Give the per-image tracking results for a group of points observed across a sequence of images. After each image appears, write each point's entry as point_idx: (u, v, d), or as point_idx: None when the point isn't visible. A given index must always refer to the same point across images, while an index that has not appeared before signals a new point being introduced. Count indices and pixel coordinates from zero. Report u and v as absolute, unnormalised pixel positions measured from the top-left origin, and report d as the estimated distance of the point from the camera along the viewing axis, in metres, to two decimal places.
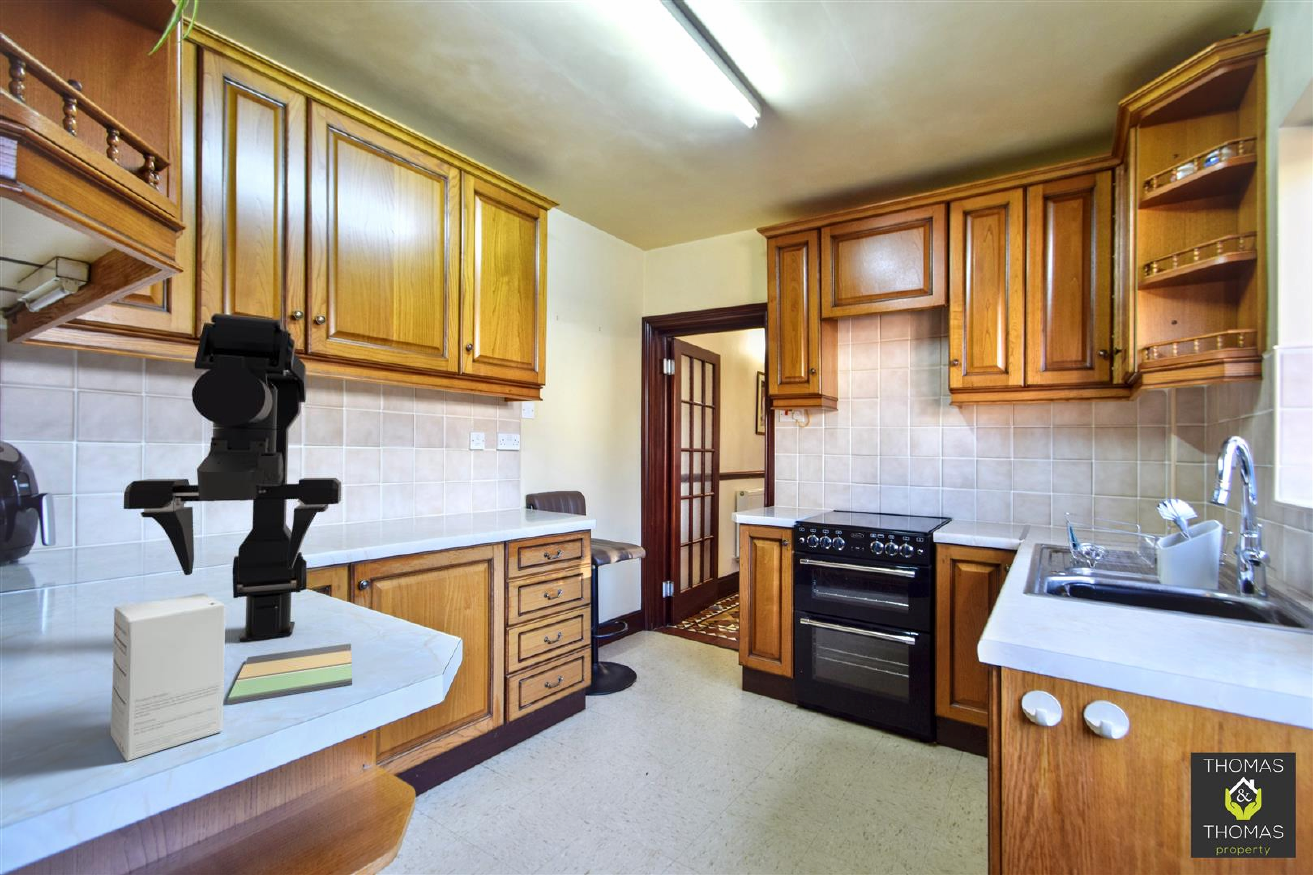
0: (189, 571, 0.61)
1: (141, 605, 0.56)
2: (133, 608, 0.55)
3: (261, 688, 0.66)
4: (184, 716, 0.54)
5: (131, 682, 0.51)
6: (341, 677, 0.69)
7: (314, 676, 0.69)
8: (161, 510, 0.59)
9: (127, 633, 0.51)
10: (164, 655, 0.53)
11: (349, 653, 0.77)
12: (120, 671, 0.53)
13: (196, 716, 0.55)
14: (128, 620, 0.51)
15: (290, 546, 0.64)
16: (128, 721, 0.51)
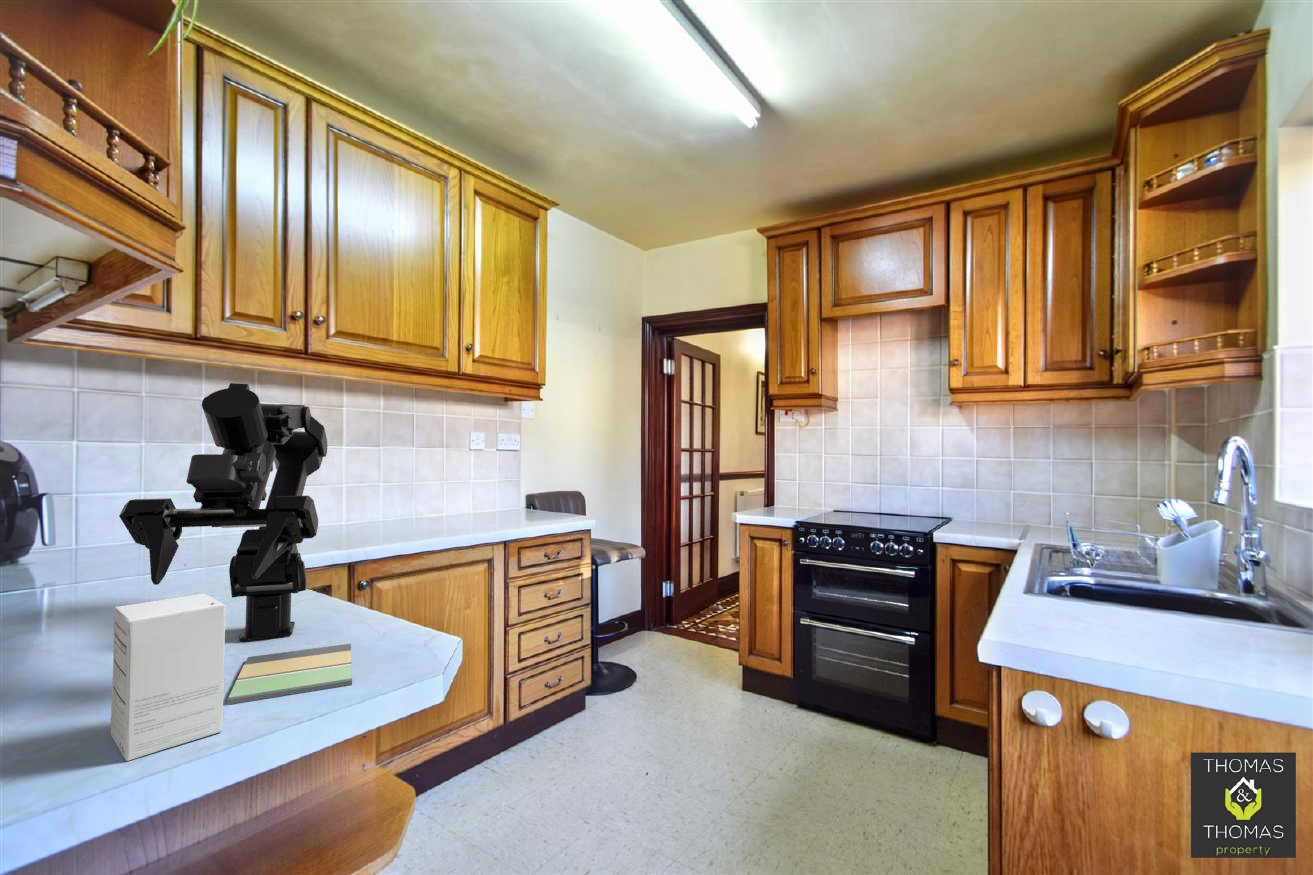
0: (156, 577, 0.62)
1: (141, 605, 0.56)
2: (133, 608, 0.55)
3: (261, 688, 0.66)
4: (184, 716, 0.54)
5: (131, 682, 0.51)
6: (341, 677, 0.69)
7: (314, 676, 0.69)
8: None
9: (127, 633, 0.51)
10: (164, 655, 0.53)
11: (349, 653, 0.77)
12: (120, 671, 0.53)
13: (196, 716, 0.55)
14: (128, 620, 0.51)
15: (258, 552, 0.67)
16: (128, 721, 0.51)
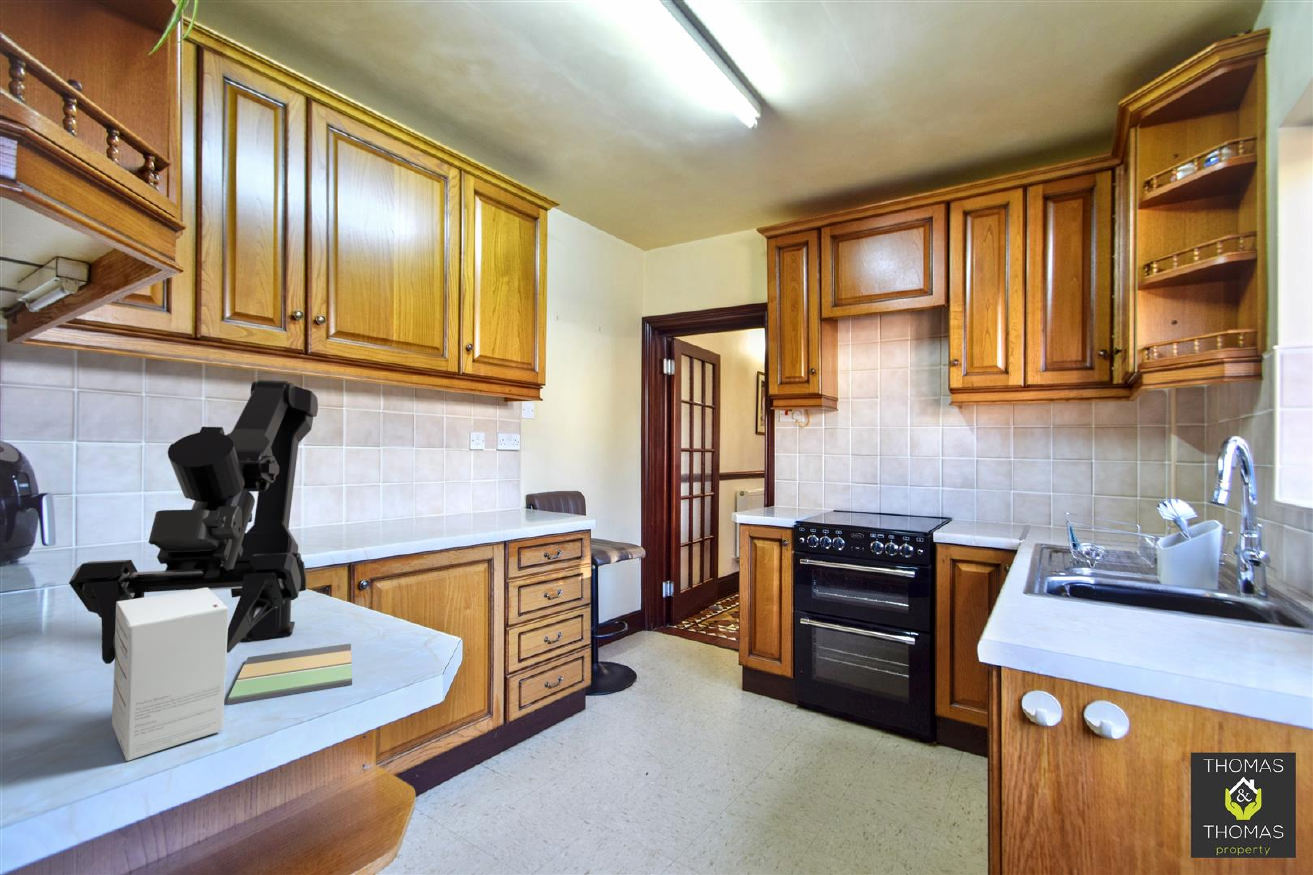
0: (108, 655, 0.54)
1: (143, 602, 0.55)
2: (135, 606, 0.54)
3: (261, 688, 0.66)
4: (185, 717, 0.54)
5: (131, 685, 0.51)
6: (341, 677, 0.69)
7: (314, 676, 0.69)
8: None
9: (128, 638, 0.50)
10: (166, 659, 0.52)
11: (349, 653, 0.77)
12: (121, 671, 0.52)
13: (197, 716, 0.54)
14: (129, 625, 0.50)
15: (231, 621, 0.58)
16: (128, 723, 0.51)
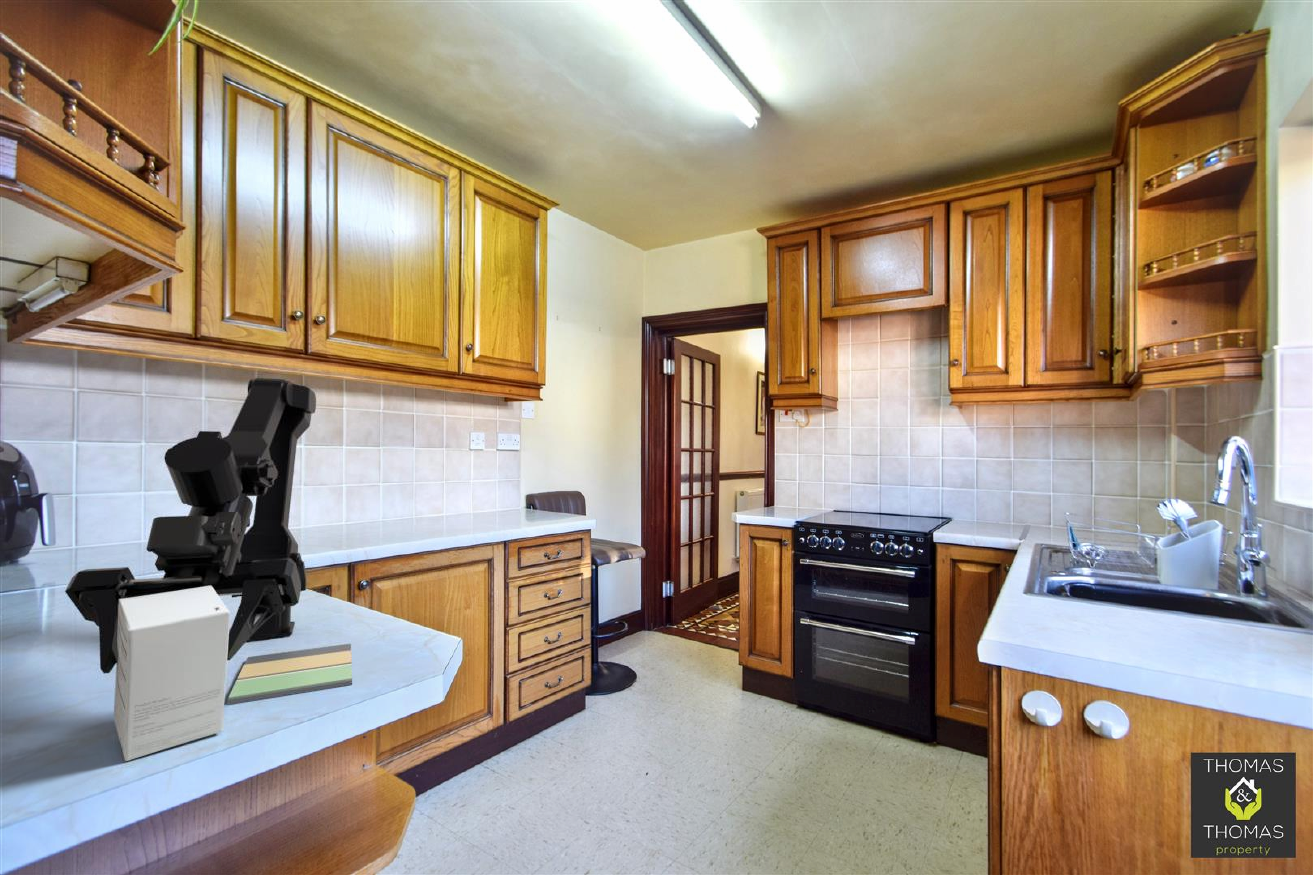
0: (107, 664, 0.53)
1: (145, 601, 0.54)
2: (137, 605, 0.53)
3: (261, 688, 0.66)
4: (184, 719, 0.53)
5: (130, 688, 0.50)
6: (341, 677, 0.69)
7: (314, 676, 0.69)
8: None
9: (127, 641, 0.49)
10: (165, 662, 0.52)
11: (349, 653, 0.77)
12: (121, 671, 0.52)
13: (196, 718, 0.54)
14: (128, 629, 0.49)
15: (231, 629, 0.57)
16: (127, 725, 0.50)
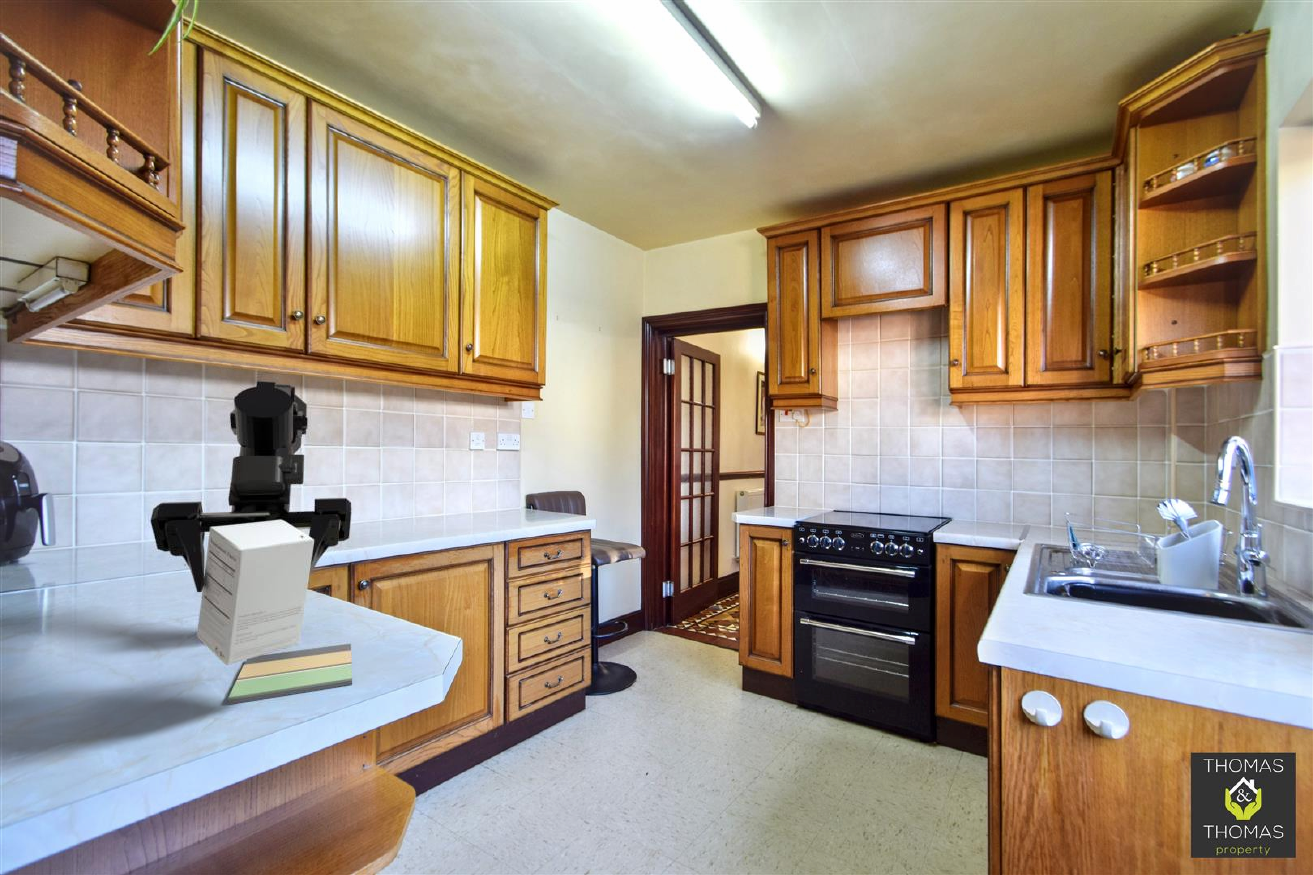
0: (201, 584, 0.60)
1: (235, 529, 0.61)
2: (231, 532, 0.60)
3: (261, 688, 0.66)
4: (273, 631, 0.61)
5: (236, 601, 0.58)
6: (341, 677, 0.69)
7: (314, 676, 0.69)
8: None
9: (237, 559, 0.57)
10: (264, 580, 0.59)
11: (349, 653, 0.77)
12: (221, 588, 0.59)
13: (282, 631, 0.62)
14: (238, 548, 0.57)
15: None
16: (231, 633, 0.58)
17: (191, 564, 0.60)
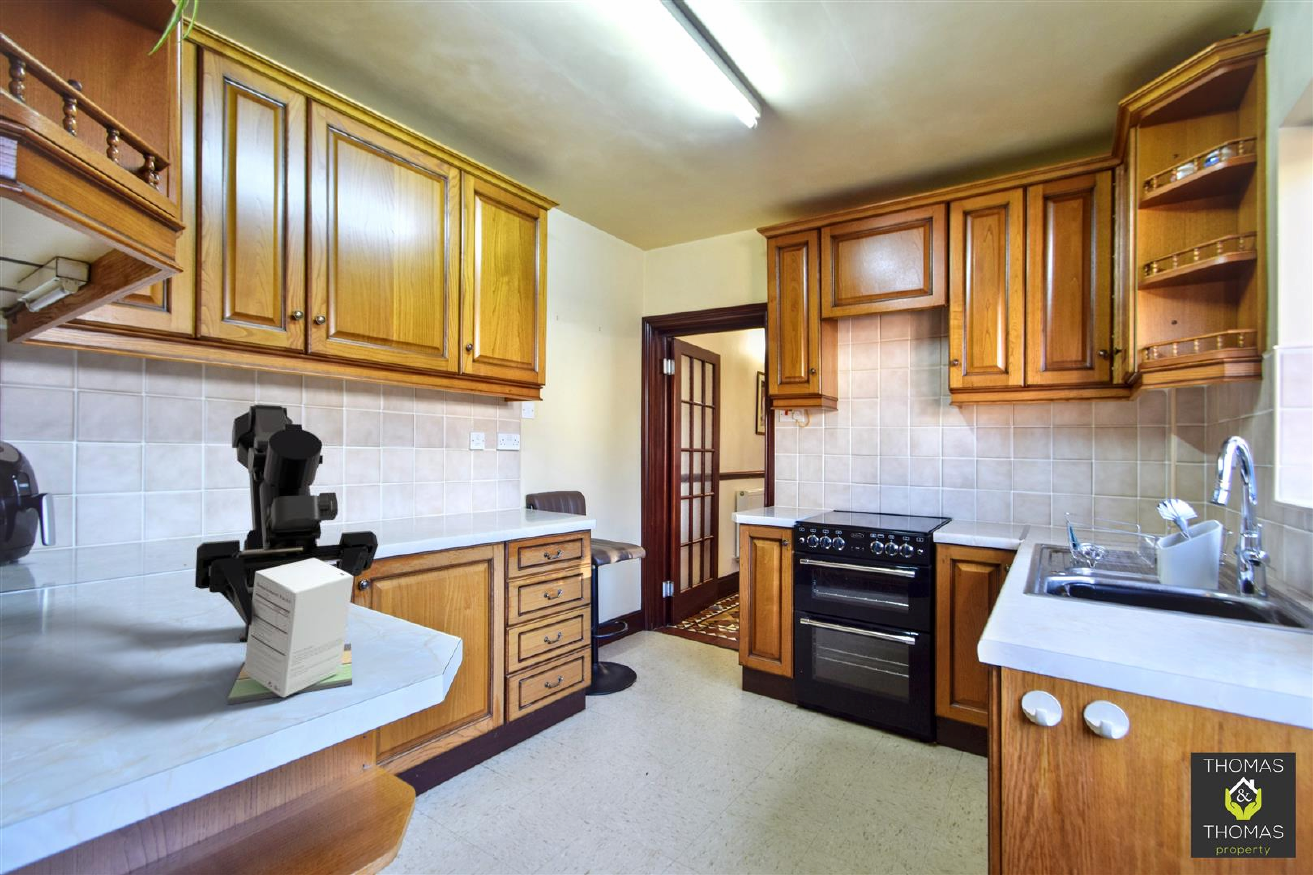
0: (251, 618, 0.64)
1: (279, 571, 0.65)
2: (277, 575, 0.65)
3: (261, 688, 0.66)
4: (320, 662, 0.67)
5: (291, 639, 0.63)
6: (341, 677, 0.69)
7: None
8: None
9: (292, 601, 0.62)
10: (314, 617, 0.65)
11: (349, 653, 0.77)
12: (273, 627, 0.63)
13: (327, 661, 0.68)
14: (293, 591, 0.62)
15: None
16: (287, 668, 0.63)
17: (240, 599, 0.64)
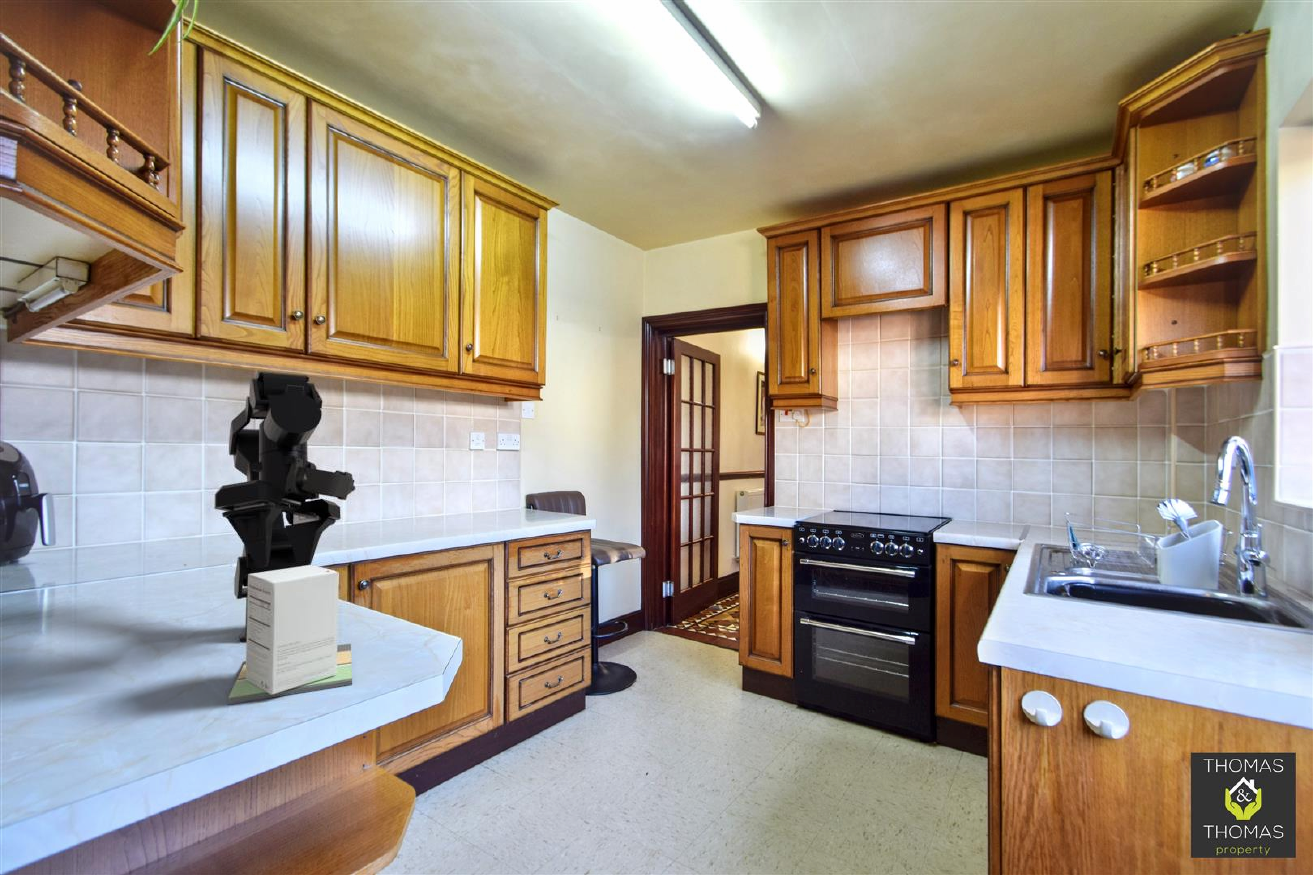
0: None
1: (270, 572, 0.68)
2: (266, 574, 0.67)
3: None
4: (311, 661, 0.67)
5: (274, 631, 0.64)
6: (341, 677, 0.69)
7: None
8: None
9: (271, 592, 0.64)
10: (297, 611, 0.66)
11: (349, 653, 0.77)
12: (261, 624, 0.65)
13: (319, 661, 0.68)
14: (271, 582, 0.64)
15: (312, 550, 0.82)
16: (272, 663, 0.64)
17: (266, 544, 0.72)
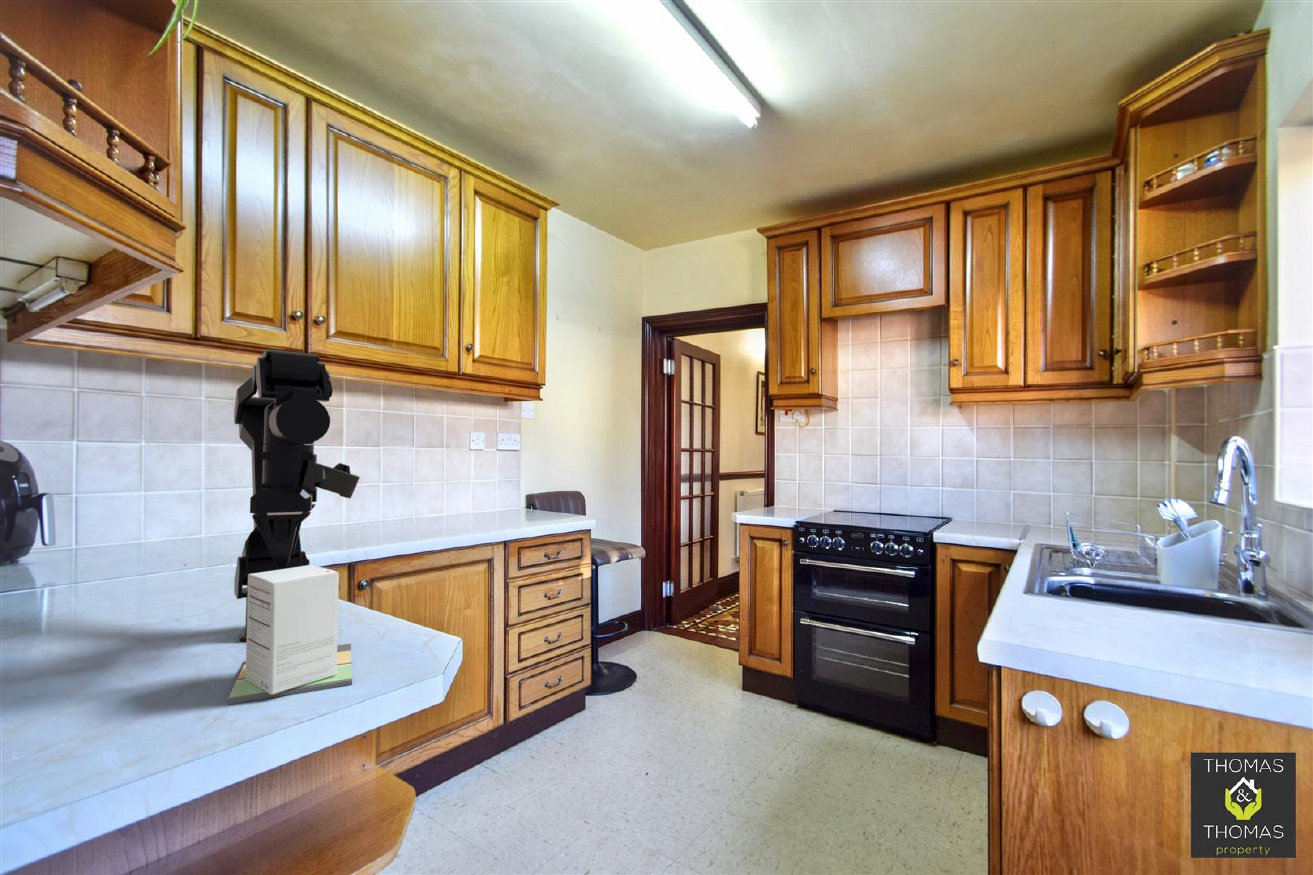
0: None
1: (270, 572, 0.68)
2: (266, 574, 0.67)
3: None
4: (311, 661, 0.67)
5: (274, 631, 0.64)
6: (341, 677, 0.69)
7: None
8: (302, 512, 0.72)
9: (271, 592, 0.64)
10: (297, 611, 0.66)
11: (349, 653, 0.77)
12: (261, 624, 0.65)
13: (319, 661, 0.68)
14: (271, 582, 0.64)
15: (297, 537, 0.81)
16: (272, 663, 0.64)
17: (291, 547, 0.72)
